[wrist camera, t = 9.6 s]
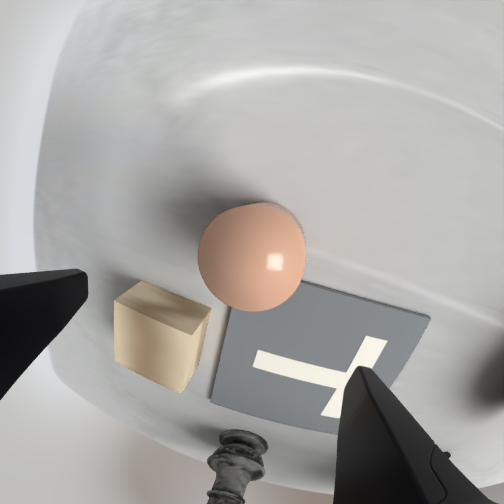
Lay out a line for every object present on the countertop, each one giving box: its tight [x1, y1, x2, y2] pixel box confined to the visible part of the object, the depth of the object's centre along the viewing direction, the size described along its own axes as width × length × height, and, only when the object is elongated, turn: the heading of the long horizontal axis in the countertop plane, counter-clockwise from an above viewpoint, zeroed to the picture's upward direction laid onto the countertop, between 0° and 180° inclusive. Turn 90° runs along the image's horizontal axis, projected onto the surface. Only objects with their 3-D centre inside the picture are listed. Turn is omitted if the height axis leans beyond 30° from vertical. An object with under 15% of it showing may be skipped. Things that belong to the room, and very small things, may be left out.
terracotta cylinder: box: [198, 202, 305, 312], centre depth 15 cm, size 5×5×5 cm
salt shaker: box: [207, 430, 268, 504], centre depth 19 cm, size 6×6×12 cm
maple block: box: [114, 280, 212, 394], centre depth 20 cm, size 6×6×4 cm
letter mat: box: [210, 280, 431, 435], centre depth 20 cm, size 14×14×1 cm
